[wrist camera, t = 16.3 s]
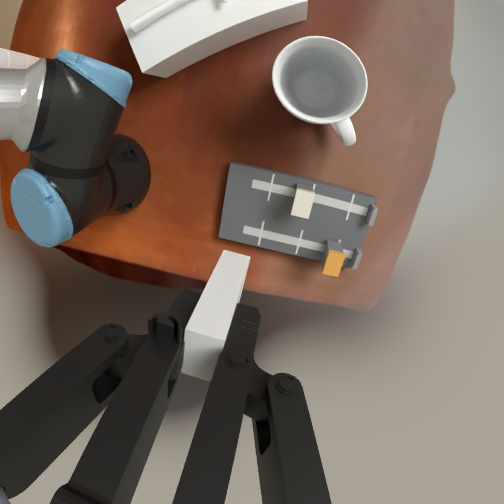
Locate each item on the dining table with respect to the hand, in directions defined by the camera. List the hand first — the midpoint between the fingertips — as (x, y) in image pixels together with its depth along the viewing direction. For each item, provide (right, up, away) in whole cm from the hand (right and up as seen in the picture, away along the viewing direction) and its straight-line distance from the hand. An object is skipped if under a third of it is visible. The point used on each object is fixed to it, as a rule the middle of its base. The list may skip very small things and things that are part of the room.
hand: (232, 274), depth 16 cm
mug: (+11, +25, +23) cm, 36 cm away
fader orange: (+14, +2, +31) cm, 34 cm away
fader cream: (+9, +10, +28) cm, 31 cm away
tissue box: (-5, +40, +18) cm, 44 cm away
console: (+8, +8, +32) cm, 34 cm away
